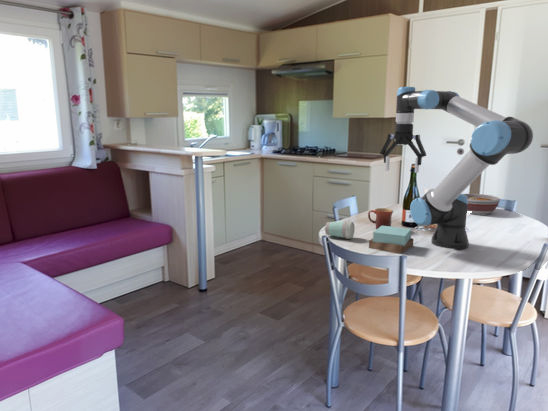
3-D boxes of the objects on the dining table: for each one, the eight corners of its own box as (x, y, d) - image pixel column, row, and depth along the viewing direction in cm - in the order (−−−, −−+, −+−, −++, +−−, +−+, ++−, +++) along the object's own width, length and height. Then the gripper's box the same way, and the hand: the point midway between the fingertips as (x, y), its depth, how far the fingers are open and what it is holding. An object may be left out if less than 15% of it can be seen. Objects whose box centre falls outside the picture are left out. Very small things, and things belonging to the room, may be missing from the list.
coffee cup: (328, 239, 208) (353, 241, 203) (322, 234, 201) (348, 236, 196) (331, 222, 211) (355, 223, 205) (325, 216, 204) (350, 218, 198)
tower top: (411, 237, 191) (411, 228, 190) (404, 245, 180) (405, 235, 179) (381, 234, 197) (381, 225, 196) (373, 241, 186) (373, 232, 185)
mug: (393, 229, 220) (394, 208, 218) (391, 233, 212) (392, 212, 210) (369, 226, 224) (370, 207, 222) (365, 230, 216) (366, 210, 214)
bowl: (449, 209, 268) (451, 193, 266) (489, 210, 265) (490, 193, 263) (461, 217, 245) (463, 200, 243) (504, 218, 243) (506, 200, 241)
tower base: (412, 247, 191) (413, 238, 190) (400, 255, 180) (401, 246, 179) (382, 242, 199) (382, 233, 198) (368, 249, 188) (369, 240, 187)
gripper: (435, 123, 190) (432, 172, 194) (381, 123, 204) (378, 168, 208) (430, 123, 184) (426, 174, 188) (374, 123, 198) (372, 170, 203)
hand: (401, 171), depth 198 cm, fingers open, 13 cm apart
